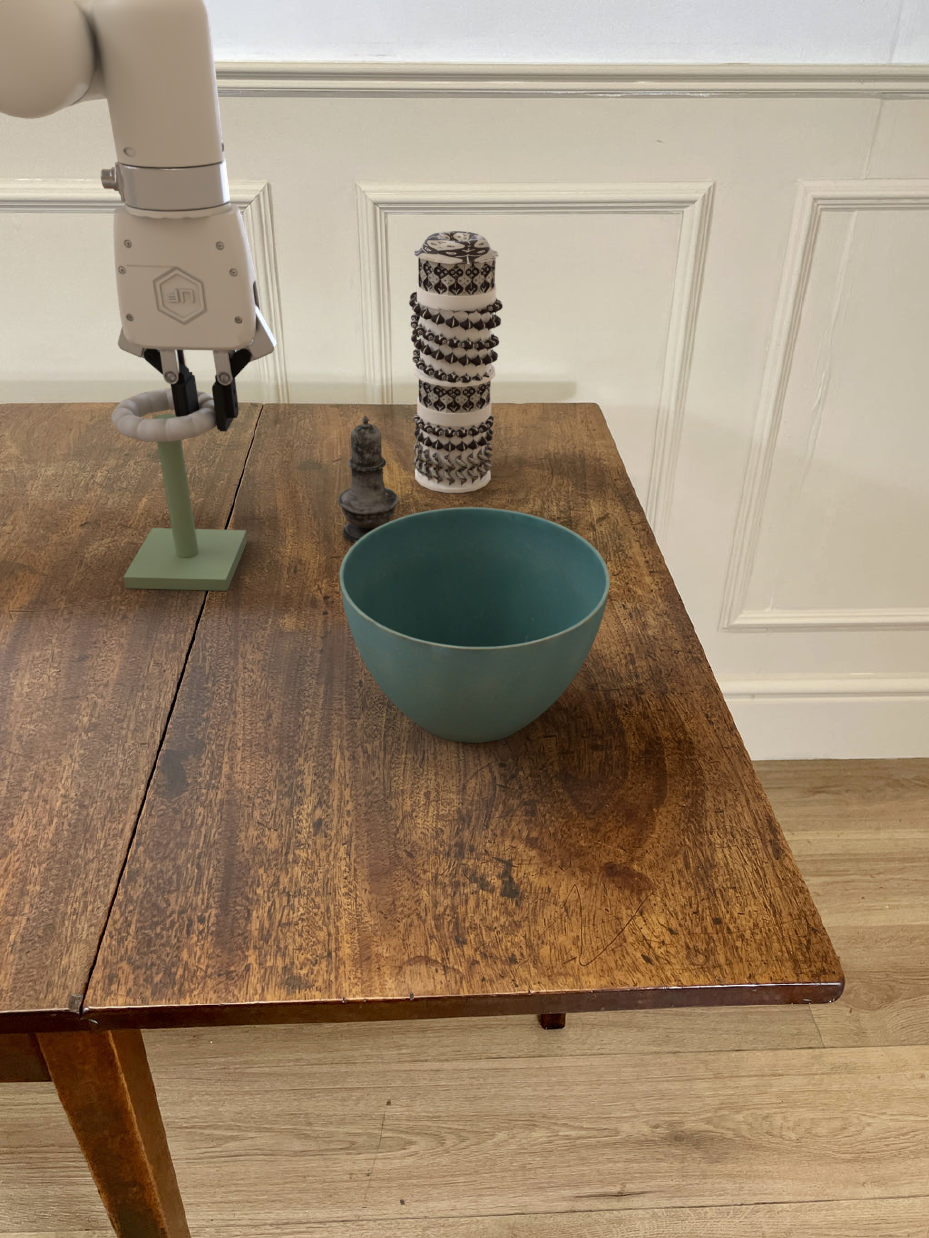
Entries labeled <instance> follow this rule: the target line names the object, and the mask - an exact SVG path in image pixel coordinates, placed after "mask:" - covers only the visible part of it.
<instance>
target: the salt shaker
mask: <svg viewBox="0 0 929 1238" xmlns="http://www.w3.org/2000/svg"><path fill="white" fill-rule="evenodd" d="M361 422H362V423H361V424H358V425H356V426H355V427H353V428H352V430H351V432H350V450H351V458H350V459H349V460H348V461H347V465H348V468H350V469H351V471H350V472H351V484H350V488H348V489H345V490H344V491H342V492H341V493H340V494H339V495H338V497H337V504H338V506H339V507H340V508H341V511H342V513H343V515H344V517H345V520H346V521H348V523H346V524H345V525H344V526H343V528H342V535H343V537H344V538H345V539H346V540H347V541H350V542H352V543H354V544H355V543H356V542H357V541H358V540H359V539H360V538H361V537H363V536H364V535H366V534H367V533H369V532H370V531H372V530H374V529H376V528H377V527H379V526H381V525H383V524H386V523H388V522H390V521H391V519H392V518H393V517H394V514H395V512H396V507H397V506H398V503H399V496H398V494H397V493H396V492H395V491H394V490H393V489H390V488H388V487H386V486H385V483H384V468H385V466H386V464H387V460H386V459H385V458H384V457H383V453H382V452H383V451H382V448H383V447H382V432H381V429H380V428H379V427H378V426H376V425H374V424H371V423H369V422H370V419H369V418H368V416H367V415H364V417H362V419H361Z"/></svg>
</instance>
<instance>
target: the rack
mask: <svg viewBox="0 0 929 1238" xmlns="http://www.w3.org/2000/svg"><path fill="white" fill-rule="evenodd" d="M176 417H177V416H176V414H172V413H163V414H158V415H156V416H155V417H153V419H170V418H176ZM156 445H157V449H158V451H157V452H158V455H159V461H160V467H161V473H162V479H163V485H164V491H165V497H166V501H167V508H168V516H169V520H170V527H171V528H168V527H167V528H165V527H152V528H151V529H150V531H149V533H148V534H147V536H146V537H145V540H144V541H143V543H142V544H141V546H140V548H139V550H138V552H137V553H136V554H135V556H134V558H133V559H132V562H131V563H130V565H129V567H128V568H127V570H126V572H125V574H124V575H123V577H122V578H123V583H124V587H125V589H134V590H135V589H136V590H137V589H138V590H174V591H175V590H176V591H177V590H178V591H214V592H215V591H216V592H217V591H218V592H219V591H220V592H228V591H229V588H230V585H231V583H232V581H233V578H234V576H235V573H236V570H237V568H238V565H239V564H240V560H241V558H242V556H243V553H244V550H245V548H246V546H247V543H248V534H247V530H246V529H207V528H196V526H195V518H194V512H193V506H192V500H191V494H190V485H189V481H188V473H187V468H186V461H185V455H184V448H183V440H178V441H173V442H156Z"/></svg>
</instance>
